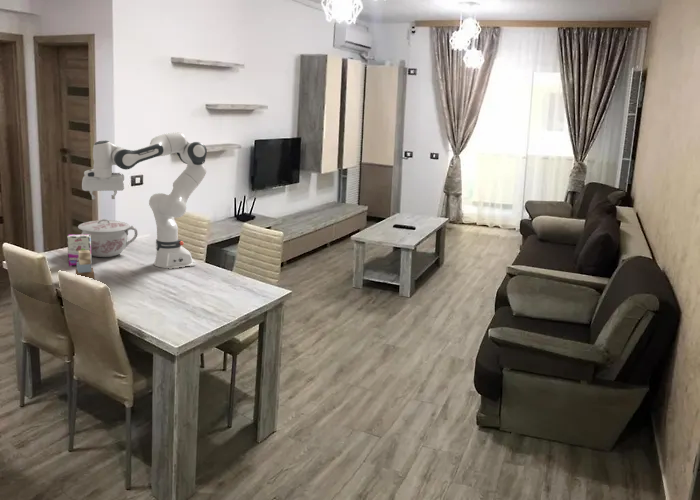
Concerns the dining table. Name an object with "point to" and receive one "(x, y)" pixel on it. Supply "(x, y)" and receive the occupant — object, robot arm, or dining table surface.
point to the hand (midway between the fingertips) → (103, 199)
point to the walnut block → (86, 274)
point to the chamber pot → (107, 236)
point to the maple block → (84, 257)
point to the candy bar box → (77, 247)
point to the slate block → (83, 268)
